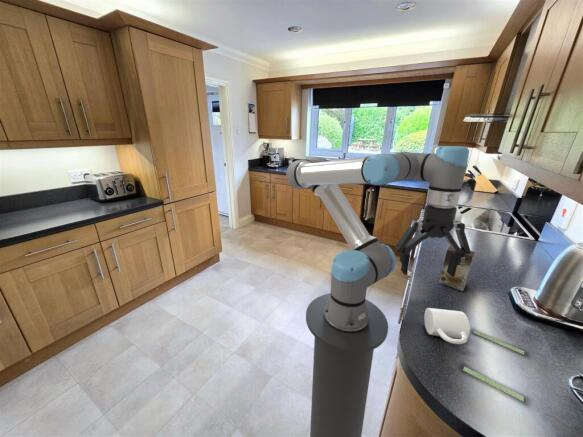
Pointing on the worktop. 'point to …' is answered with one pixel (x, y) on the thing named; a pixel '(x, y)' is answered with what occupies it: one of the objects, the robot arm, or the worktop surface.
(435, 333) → the mug
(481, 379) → the strips
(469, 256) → the coffee box
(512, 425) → the worktop surface
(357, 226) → the robot arm
